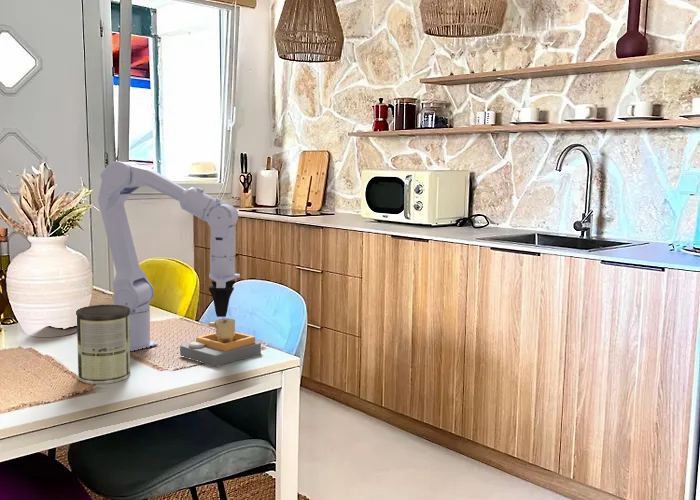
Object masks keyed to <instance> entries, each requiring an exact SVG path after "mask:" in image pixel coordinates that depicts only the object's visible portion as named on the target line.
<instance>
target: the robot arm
mask: <svg viewBox="0 0 700 500" xmlns="http://www.w3.org/2000/svg"><path fill="white" fill-rule="evenodd" d="M100 179H101V183H100V188H99V192H98V193H99V194H98V198H97V199H98V200H97V201H98V202H97V203H98V205H99V206H98V207H99V210H100V213H101V217H102V218H101V219H102V221H103V225H104V229H105V233H106V237H107V241H108V244H109V248H110V253H111V257H112V260H113V264H114V265H113V266H114V268H115V277H114V278H113V281H112V285H113V294H112V302H113V305H122V306H126V307H129V308H130V313H129V329H130V351H131V352H134V350H135V351H139V350H142V348H143V349H147V348H151V347H150V346H152V347H156V346H158V345H159V343H158V342H155V341H152V340H151V329H150V328H151V320H150V319H151V313H150V312H151V310H150V309H151V308H150V307H151V306H150V302H151V301H152V300H153V298H154V296H155V291H154V287H153V285H152V283H151V282H150V281H149V279H148V277H147V274H146V272H145V271H144V270H143V269H142V268H141V267H140V264H139V260H138V255H137V252H136V248H135V245H134V244H135V243H134V240H133V236H132V232H131V229H130V228H131V227H130V223H129V220H128V216H127V211H126V208H125V203H126V202H127V199H128V198H129V197H130V195H131V194H132V193H134V192H135V191H136V190H138V189H139V188H140V187H148V188H151V189H153V190H155V191H157V192H159V193H160V194H161V193H162V194H164V195H166V196H168V197H170V198H172V199H174V200H176V201H178V202H179V205H180V207H181V210H184V211H186V212H187V213H188V214H189V213H190V215H193V216H195V217H197V218H198V219H200V220H202V221H204V222H206V223H207V224H208V226H209V227H210V237H209V239H210V240H209V241H210V243H209V244H210V245H209V247H210V249H209V250H210V251H209V252H210V253H209V270H210V271H209V274H208V277H209V279H210V282H211V284H212V285H209V286H208V292H209V293H210V295H211V297H212V301H213V305H214V311H215V315H216V317H217V318H220V317H221V318H226V317H227V313H228V311H229V310H228V309H229V303H230V299H231V296H232V293H233V291H234V289H235V287H234V285H235V283H236V279H240V278H241V275H240V273H236V226H235V225H236V224H238V223H237V222H238V221H239V212H238V210H237V209H236V207H234V205H232V204H231V203H229V202H225V203H222V199H221V198H218V197H216V198H215V197H213V196H211V195H209V194H208V193H205V192H204V191H205V190H204V189H203V188H201V187H197V188H196V187H193V186H192V187H190V188H185V187H183V186H182V185H180V184H178V183H177V182H175V181H173V180H171V179H170V178H168V177H166V176H164V175H163V174H161V173H159V172H158V171H156V170H154V169H152V168H151V167H149V166H146V165H142V164H141V163H140V162H137V161H128V162H127V161H119V160H117V161H111V162H110V163H108V164H107V166H105V168H104V169H103V171H102V172H101V173H100ZM155 345H156V346H155ZM146 347H147V348H146ZM138 349H139V350H138Z"/></svg>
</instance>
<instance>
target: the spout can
mask: <svg viewBox="0 0 700 500" xmlns="http://www.w3.org/2000/svg"><path fill="white" fill-rule="evenodd" d="M208 327H211V328H212V327H213V328H215V333H216V341H218V342H222V343H228V342H232V341H235V332H236V319H235V318H226V317H222V318H217V319H216V320H215V321H214V322H211V321H210V322H209V323H208Z"/></svg>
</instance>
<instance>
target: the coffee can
mask: <svg viewBox="0 0 700 500" xmlns="http://www.w3.org/2000/svg"><path fill="white" fill-rule="evenodd" d="M129 313H130V308H129V307H126V306H122V305H115V304H96V305H95V304H94V305H88V306H85V307H83V308H80V309H78V310H77V311H76V315H77V327H76V331H77V335H76V337H77V338H76V339H77V372H78V373H77V374H78V377H77V379H78V381H79V380H80V381H79V382H81V381H82V382H81V383H83V382H86V383H85V384H87V383H92V384H91V385H107V384H113V383H114V384H115V383H119V382H121V381H125V380H127V379H128V378H130V376H131V352H130V329H129Z"/></svg>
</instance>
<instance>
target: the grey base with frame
mask: <svg viewBox="0 0 700 500" xmlns="http://www.w3.org/2000/svg"><path fill="white" fill-rule="evenodd" d="M261 350H262V346H261V342H258V341H256V336H255V335H250V334H246V333H241V332H238V331H235V341H232V342H228V343H222V342H218V341H216V332H213V333H208V334H204V335H200V336H196V337H195V341H192V342H189V343H185V344H183V345H182V344H181V345H180V346H179V356H180V355H181V356H184V357H187V358H191V359H194V360H198V361H201V362H203V363H202V364H204V365H209V366H211V367H212V366H213V367H216V368H217V367H220V366H224V365H227V364H230V363H233V362H237V361H241V360H242V359H243V360H244V359H248V358H251V357H254V356H257V355H260V354H261V353H262V351H261ZM184 357H183V358H184ZM187 358H186V359H187ZM191 359H190V360H191ZM194 360H193V361H194ZM198 361H197V362H198ZM201 362H200V363H201Z"/></svg>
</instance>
